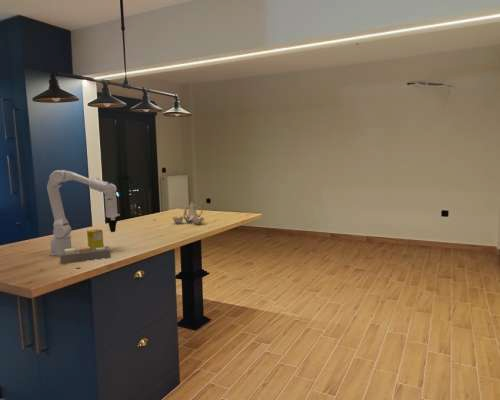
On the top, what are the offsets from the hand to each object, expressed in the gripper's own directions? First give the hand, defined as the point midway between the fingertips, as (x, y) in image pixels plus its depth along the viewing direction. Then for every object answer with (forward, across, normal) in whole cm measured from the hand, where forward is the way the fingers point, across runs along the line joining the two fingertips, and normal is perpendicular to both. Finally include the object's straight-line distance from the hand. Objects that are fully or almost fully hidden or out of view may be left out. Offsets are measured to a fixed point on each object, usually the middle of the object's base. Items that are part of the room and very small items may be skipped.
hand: (112, 231), depth 202 cm
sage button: (+9, -10, +7) cm, 15 cm away
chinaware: (+11, +65, -60) cm, 89 cm away
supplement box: (+11, +8, +9) cm, 16 cm away
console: (+10, -10, +14) cm, 20 cm away
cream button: (+8, -10, +21) cm, 25 cm away
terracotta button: (+8, -10, +14) cm, 19 cm away
